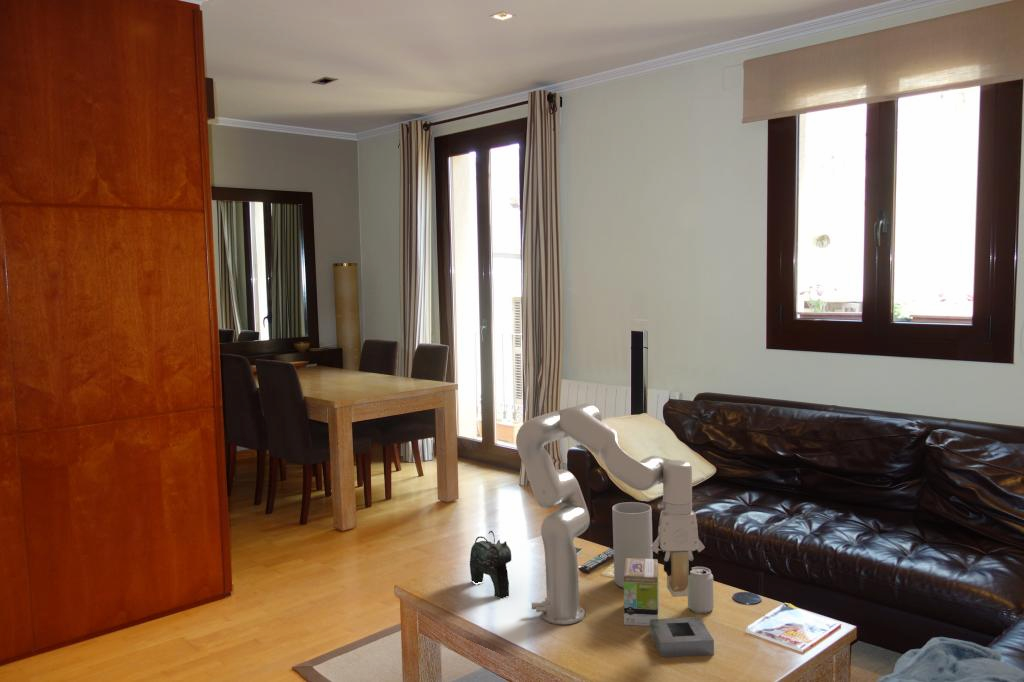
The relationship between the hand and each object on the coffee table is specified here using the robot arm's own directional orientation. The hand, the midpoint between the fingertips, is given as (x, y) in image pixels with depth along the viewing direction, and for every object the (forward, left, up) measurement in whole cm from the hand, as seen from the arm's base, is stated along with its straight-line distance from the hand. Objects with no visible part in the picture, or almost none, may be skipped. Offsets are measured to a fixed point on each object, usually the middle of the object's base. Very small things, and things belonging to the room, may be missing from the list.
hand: (677, 572), depth 211 cm
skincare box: (0, 0, -6) cm, 6 cm away
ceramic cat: (-52, +43, -20) cm, 70 cm away
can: (+11, +21, -20) cm, 31 cm away
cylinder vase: (-5, +43, -20) cm, 47 cm away
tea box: (-7, +19, -20) cm, 28 cm away
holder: (0, 0, -20) cm, 20 cm away
